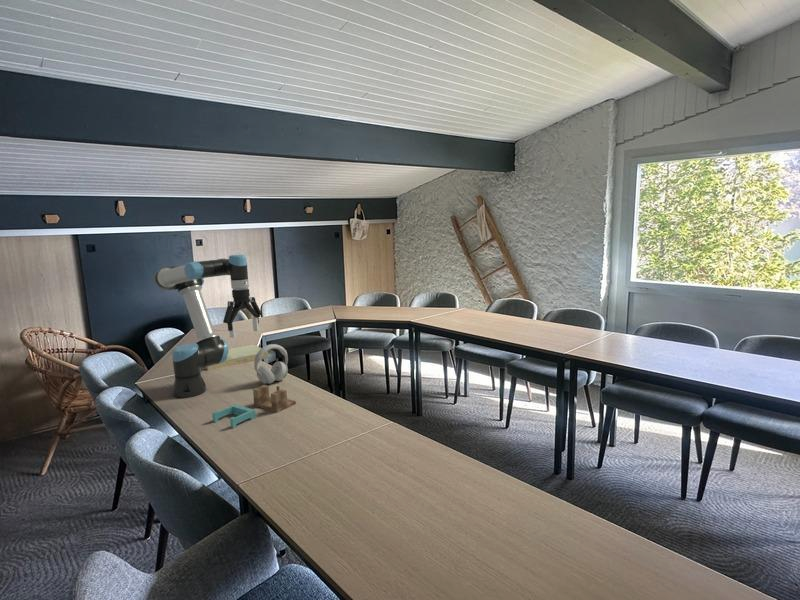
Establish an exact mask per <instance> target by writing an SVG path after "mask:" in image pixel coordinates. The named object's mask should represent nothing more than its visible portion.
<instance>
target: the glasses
mask: <svg viewBox="0 0 800 600" xmlns="http://www.w3.org/2000/svg"><path fill="white" fill-rule="evenodd" d="M229 414H231V415H235V416H232V417H230V418H229V421H230V422H229V423H230V428H231V429H235V428H237V424H240V423H242V422H244V421H246V420H252V421H253V420H254V419H256V418H257V417H256V409H253V408H249V407H247V406H243V405H239V404H232V405H231V406H228V407H226V408H223V409H221V410H219V411H213V412H212V413H211V415H212V421H213V423H218V422H219V419H220V418H223V417H224V416H225V417H226V416H227V415H229ZM217 421H218V422H217Z"/></svg>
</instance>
